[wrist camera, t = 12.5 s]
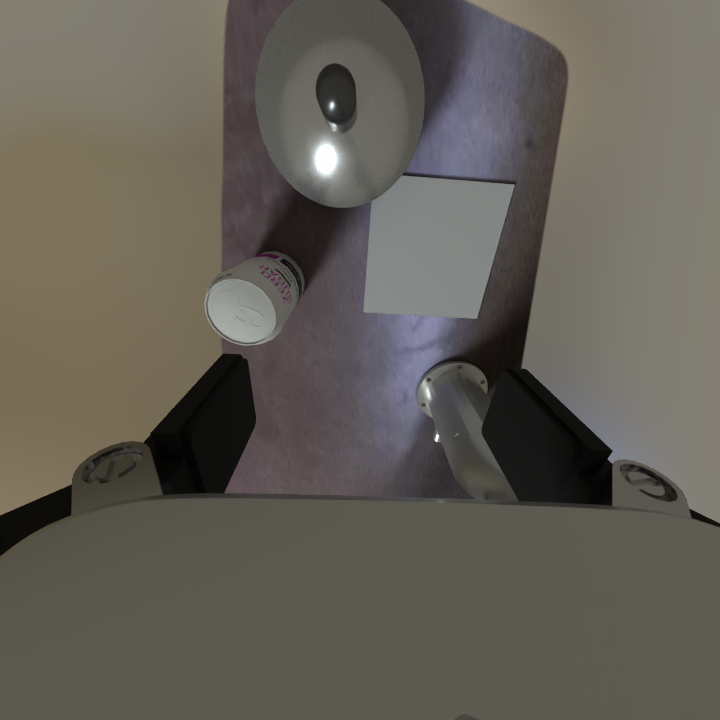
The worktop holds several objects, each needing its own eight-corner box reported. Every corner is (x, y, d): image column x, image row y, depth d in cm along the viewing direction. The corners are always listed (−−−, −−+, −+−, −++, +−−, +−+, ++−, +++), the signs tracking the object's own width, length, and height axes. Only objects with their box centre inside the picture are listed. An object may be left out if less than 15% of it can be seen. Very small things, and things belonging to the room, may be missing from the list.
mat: (476, 317, 44) (477, 318, 44) (363, 311, 43) (363, 312, 43) (513, 184, 36) (514, 184, 35) (373, 173, 35) (373, 173, 35)
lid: (410, 212, 31) (419, 212, 26) (266, 202, 31) (246, 200, 26) (436, 2, 24) (458, -60, 18) (249, -14, 23) (216, -82, 18)
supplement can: (242, 292, 42) (191, 331, 29) (259, 239, 38) (208, 256, 25) (293, 315, 44) (267, 362, 31) (313, 267, 40) (293, 295, 27)
